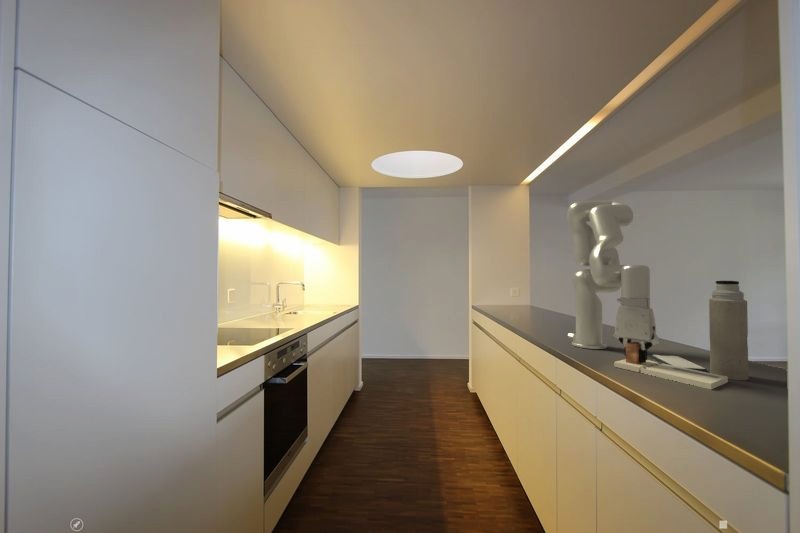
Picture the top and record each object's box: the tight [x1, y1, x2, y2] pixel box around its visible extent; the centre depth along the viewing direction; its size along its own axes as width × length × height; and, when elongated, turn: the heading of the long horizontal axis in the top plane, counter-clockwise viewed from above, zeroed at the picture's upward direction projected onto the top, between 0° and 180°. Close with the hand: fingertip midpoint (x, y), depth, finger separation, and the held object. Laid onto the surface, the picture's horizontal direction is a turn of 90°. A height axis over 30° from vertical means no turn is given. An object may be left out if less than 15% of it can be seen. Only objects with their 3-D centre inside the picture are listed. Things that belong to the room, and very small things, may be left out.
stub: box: [613, 340, 659, 373], centre depth 105 cm, size 7×12×8 cm, turn 120°
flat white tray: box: [640, 362, 729, 391], centre depth 95 cm, size 16×12×2 cm
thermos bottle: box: [708, 280, 749, 381], centre depth 97 cm, size 8×8×28 cm
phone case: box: [650, 354, 708, 373], centre depth 109 cm, size 9×2×16 cm
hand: (635, 360), depth 105 cm, fingers closed on stub, 3 cm apart
